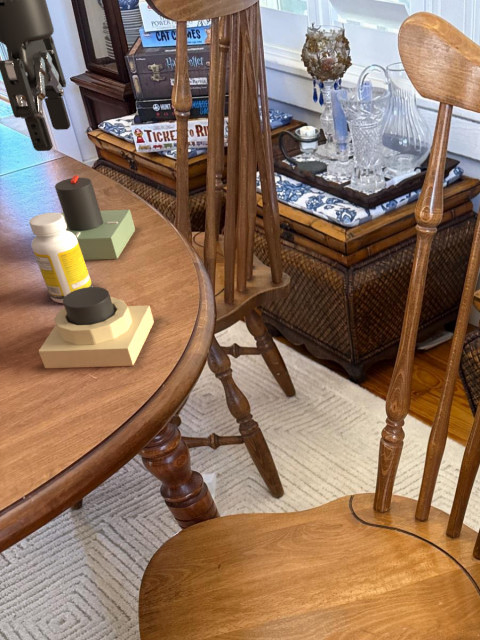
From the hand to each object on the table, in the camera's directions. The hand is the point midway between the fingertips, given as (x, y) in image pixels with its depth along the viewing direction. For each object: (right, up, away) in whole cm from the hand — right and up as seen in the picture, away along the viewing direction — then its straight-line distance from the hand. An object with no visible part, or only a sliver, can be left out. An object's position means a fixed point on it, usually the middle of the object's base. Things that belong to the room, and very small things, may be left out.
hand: (53, 139), depth 102 cm
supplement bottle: (+3, -21, -1) cm, 21 cm away
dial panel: (+1, -10, +10) cm, 14 cm away
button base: (+11, -30, -11) cm, 33 cm away
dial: (+1, -8, +8) cm, 11 cm away
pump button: (+10, -27, -14) cm, 32 cm away
